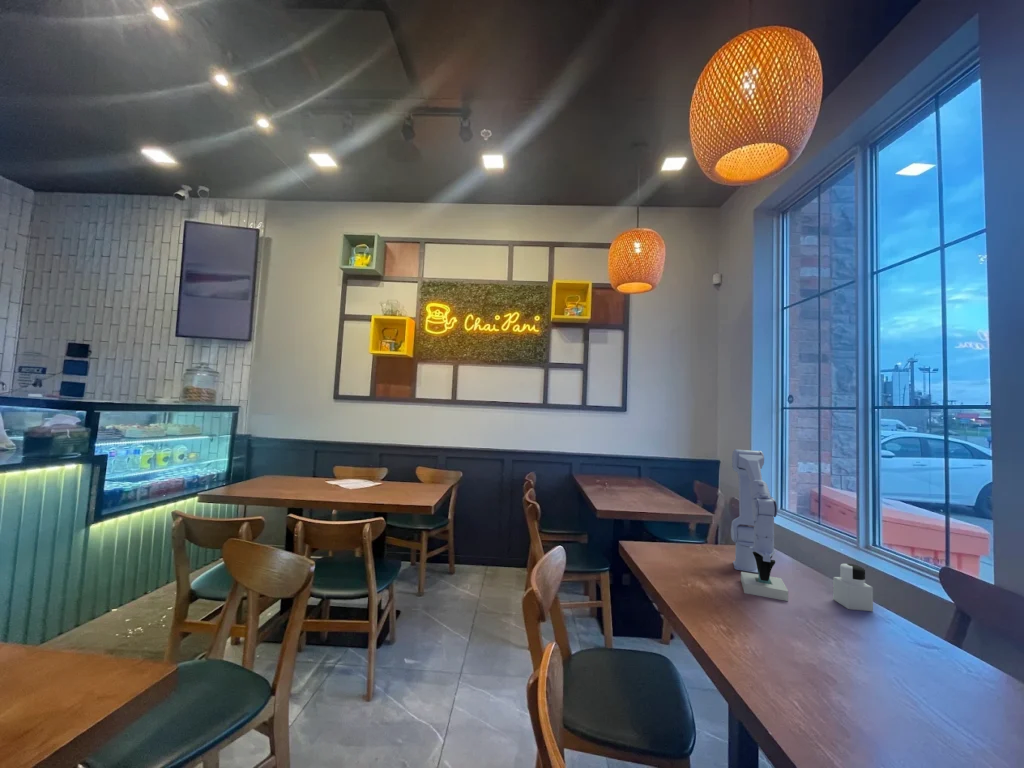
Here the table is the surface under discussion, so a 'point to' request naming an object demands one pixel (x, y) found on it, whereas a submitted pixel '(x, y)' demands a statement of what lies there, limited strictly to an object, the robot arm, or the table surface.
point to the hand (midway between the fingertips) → (763, 577)
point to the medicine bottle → (852, 588)
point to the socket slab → (764, 586)
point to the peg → (763, 581)
